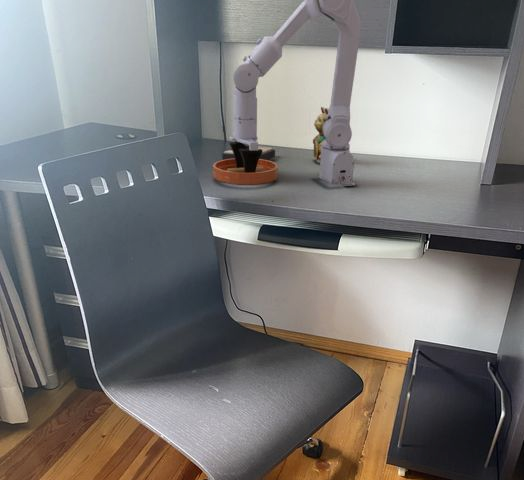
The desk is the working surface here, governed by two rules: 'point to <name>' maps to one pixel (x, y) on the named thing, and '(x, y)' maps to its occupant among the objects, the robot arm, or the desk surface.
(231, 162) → the bowl
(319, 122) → the decorative figurine
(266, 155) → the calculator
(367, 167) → the desk surface
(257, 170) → the cylinder
